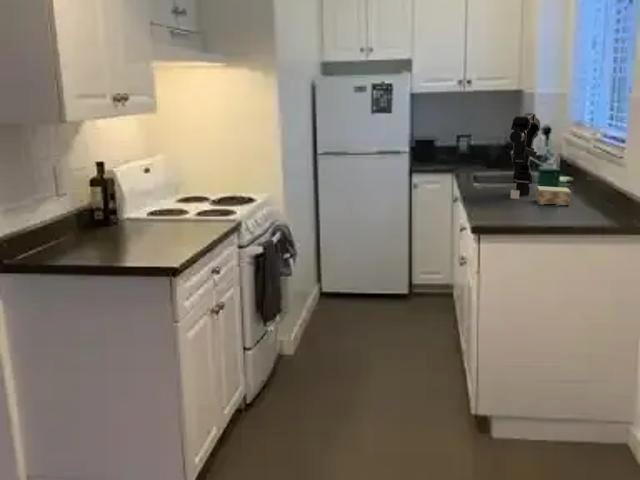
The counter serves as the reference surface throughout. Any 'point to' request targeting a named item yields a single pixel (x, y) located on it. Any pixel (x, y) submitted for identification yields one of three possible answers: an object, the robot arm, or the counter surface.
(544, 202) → the box
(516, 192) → the block
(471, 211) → the counter surface
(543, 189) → the lid
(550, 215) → the counter surface
